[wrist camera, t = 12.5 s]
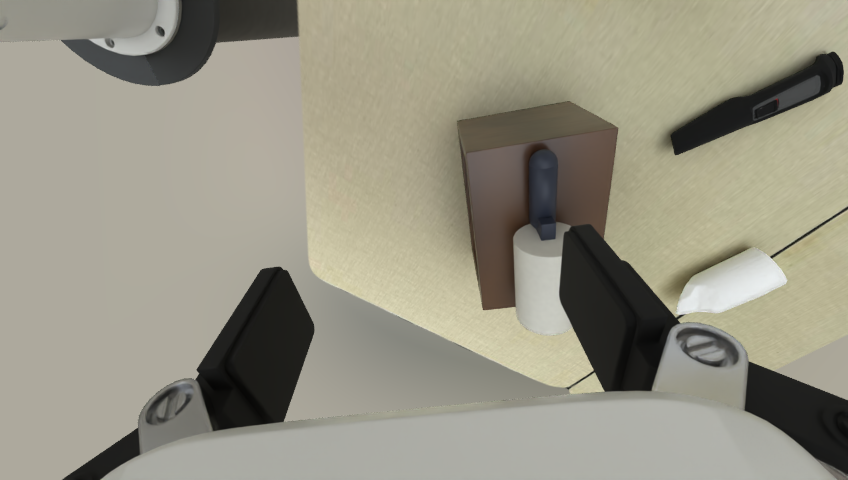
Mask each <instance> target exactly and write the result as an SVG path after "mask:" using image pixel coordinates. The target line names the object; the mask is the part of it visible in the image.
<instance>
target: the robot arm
mask: <svg viewBox="0 0 848 480" xmlns="http://www.w3.org/2000/svg"><path fill="white" fill-rule="evenodd" d="M181 13H182V1H181V0H0V42H17V41H46V40H75V39H89V40H90V41H92V42H93V43H95V44H97V45H99V46H101V47H103V48H105V49H107V50H110V51H113V52H116V53H119V54H123V55H132V56H138V55H148V54H152V53H156V52H158V51H160V50H162V49H164V48H165V47H166V46H167V45H168V44H169V43H170V42H171V41H172V40H173V39H174V37H175V35H176V33H177V32H178V29H179V25H180V22H181ZM164 31H165V32H164ZM559 298H560V302H561V305H562V307H563V309H564V311H565V313H566V315H567V317H568V319H569V321H570V323H571V325H572V327H573V329H574V331H575V333H576V335H577V337H578V339H579V341H580V343H581V345H582V347H583V349H584V351H585V353H586V355H587V357H588V359H589V361H590V363H591V365H592V367H593V369H594V371H595V373H596V375H597V377H598V379H599V381H600V383H601V385H602V387H603V389H604V391H605V392H596V393H582V394H569V395H556V396H545V397H533V398H522V399H512V400H501V401H491V402H479V403H469V404H458V405H449V406H437V407H427V408H418V409H408V410H397V411H387V412H376V413H366V414H357V415H347V416H337V417H328V418H318V419H308V420H299V421H289V422H284V419H285V416H286V413H287V410H288V407H289V404H290V402H291V399H292V396H293V393H294V390H295V387H296V384H297V381H298V378H299V375H300V372H301V370H302V367H303V364H304V361H305V358H306V355H307V352H308V349H309V346H310V343H311V341H312V338H313V335H314V324H313V321H312V319H311V317H310V315H309V313H308V311H307V309H306V308H305V305H304V303H303V301H302V299H301V297H300V295H299V293H298V291H297V289H296V287H295V285H294V283H293V281H292V279H291V277H290V275H289V273H288V271H287V270H283V269H282V268H281V267H273V268H266V269H262V270H261V271H260V272H259V274H258V275H257V277H256V279H255V280H254V282H253V283H252V285H251V286H250V288H249V289H248V291H247V292H246V294H245V295H244V297H243V299H242V300H241V302H240V303H239V305H238V306H237V308H236V309H235V311H234V312H233V314H232V316H231V317H230V319H229V320H228V322H227V323H226V325H225V326H224V328H223V330H222V331H221V333H220V334H219V336H218V337H217V339H216V340H215V342H214V344H213V345H212V347H211V348H210V350H209V351H208V353H207V354H206V356H205V358H204V359H203V361H202V362H201V364H200V365H199V367H198V368H197V371H198V372H199V375H198V377H197V378H196V380H194V379H192V378H189V379H182V380H178V381H175V382H173V383H171V384H169V385H167V386H166V387H164V388H163V389H161V390H160V391H158V392H157V393H156V394H155V395H154V396H153V397H152V398H151V399H150V400H149V401H148V402H147V403H146V405H145V406H144V408H143V409H142V411H141V413H140V415H139V420H138V428H137V429H135V430H134V431H133V432H131V433H130V434H128V435H127V436H125V437H124V438H122V439H121V440H120V441H118V442H116V443H115V444H114V445H112V446H111V447H109V448H108V449H106V450H105V451H103V452H102V453H100V454H99V455H97V456H96V457H94V458H93V459H92V460H90V461H89V462H87V463H86V464H84V465H83V466H81V467H80V468H78V469H77V470H76V471H74V472H72V473H71V474H70V475H68V476H67V477H65V478H64V479H63V480H848V400H845V399H843V398H840V397H838V396H835V395H833V394H830V393H828V392H825V391H823V390H820V389H817V388H815V387H812V386H810V385H807V384H805V383H802V382H800V381H797V380H795V379H792V378H790V377H787V376H784V375H782V374H779V373H777V372H774V371H772V370H769V369H767V368H764V367H762V366H759V365H757V364H754V363H751V362H749V360H748V355H747V352H746V350H745V349H744V347H743V346H742V344H741V343H740V342H738V341H737V340H736V339H735V338H734V337H733V336H731V335H729V334H728V333H726V332H724V331H723V330H721V329H718V328H716V327H713V326H711V325H707V324H702V323H695V322H686V323H680V322H679V321H678V320H677V319H676V318H675V316H674V315H673V314H672V313H671V312H670V311H669V309H668V308H667V307H666V306H665V305H664V304H663V302H662V301H661V300H660V299H659V298H658V297H657V295H656V294H655V293H654V292H653V291H652V290H651V289H650V287H649V286H648V285H647V284H646V283H645V282H644V280H643V279H642V278H641V277H640V276H639V275H638V273H637V272H636V271H635V270H634V269H633V268H632V266H631V265H630V264H629V263H627V262H626V261H623V260H622V261H621V259H620V258H619V257H618V256H617V255H616V253H615V252H614V251H613V250H612V249H611V248H610V246H609V245H608V244H607V243H606V242H605V240H604V239H603V238H602V237H601V236H600V234H599V233H598V232H597V231H596V230H595V229H594V227H593V226H592V225H591V224H584V225H576V226H571V227H570V229H569V231H565V232H564V236H563V248H562V260H561V273H560V286H559Z"/></svg>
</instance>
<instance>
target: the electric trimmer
mask: <svg viewBox="0 0 848 480" xmlns="http://www.w3.org/2000/svg"><path fill="white" fill-rule="evenodd" d="M843 75H844V70H843V64H842V61H841V60H840V58H839V56H838V55H837V54H836V53H835V52H831V53H829V54H827V55H826V54H820V55H819V56H817V57H816V62H815V63H814V64H813V65H812V66H810V67H808V68H806V69H804V70H802V71H800V72H798V73H796V74H794V75H791V76H789V77H787V78H785V79H783V80H781V81H779V82H777V83H775V84H773V85H771V86H769V87H767V88H765V89H763V90H760V91H758V92H756V93H754V94H752V95H749V96H744V97H736V98H731V99H729V100H727V101H725V102H724V103H722V104H720V105H718V106H717V107H715V108H713V109H712V110H710V111H708V112H707V113H705V114H703V115H702V116H700V117H698V118H697V119H695V120H693V121H692V122H690V123H688V124H687V125H685V126H683V127H682V128H680V129H678V130H677V131H675V132H674V133H672V134H671V139H672V144H673V149H674V154H675V155H679V154H681V153H683V152H686V151H688V150H691V149H693V148H695V147H698V146H700V145H703V144H705V143H707V142H710V141H712V140H715V139H717V138H719V137H722V136H724V135H727V134H729V133H732V132H734V131H736V130H739V129H741V128H744V127H746V126H749V125H752V124H755V123H758V122H760V121H763V120H766V119H768V118H770V117H773V116H775V115H778V114H780V113H783V112H785V111H787V110H790V109H792V108H795V107H797V106H800V105H802V104H804V103H807V102H809V101H812V100H814V99H816V98H818V97H820V96H822V95H824V94H826V93H828V92H830V91H831V89H832V88H833V87H836V86H838V85H841V84H842V82H843Z"/></svg>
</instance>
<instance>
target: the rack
mask: <svg viewBox="0 0 848 480" xmlns="http://www.w3.org/2000/svg"><path fill="white" fill-rule="evenodd" d="M457 126H458V134H459V142H460V151H461V159H462V168H463V176H464V185H465V193H466V202H467V210H468V218H469V227H470V235H471V244H472V252H473V258H474V264H475V269H476V275H477V280H478V286H479V291H480V297H481V302H482V308H483V310H491V309H500V308H509V307H516V301H515V274H514V248H513V237H514V235H515V233H516V232H517V231H518V230H519V229H520V228H521V227H523V226H525V225H528V224H531V223H530V220H529V161H530V158H531V156H532V155H533V154H534V153H535V152H536V151H539V150H542V149H547V150H551V151H552V152H554V153H555V154H556V156H557V158H558V179H557V203H556V220H555V222H560V223H564V224H567V225H570V226H576V225H584V224H591V225H592V226H593V227H594V229H595V230H596V231H597V232H598V233H599V234H600V236H601V237H602V238H603V239H604V232H605V225H606V217H607V210H608V202H609V195H610V187H611V180H612V172H613V165H614V157H615V150H616V142H617V135H618V127H616V126H614V125H613V124H611V123H609V122H607V121H605V120H604V119H602V118H600V117H598V116H596V115H594V114H592V113H591V112H589V111H587V110H585V109H583V108H581V107H579V106H578V105H576V104H574V103H572V102H570V101H568V102H562V103H556V104H551V105H545V106H539V107H534V108H528V109H522V110H516V111H511V112H505V113H499V114H494V115H488V116H482V117H477V118H471V119H465V120H459V121H457Z"/></svg>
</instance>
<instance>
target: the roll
mask: <svg viewBox="0 0 848 480" xmlns="http://www.w3.org/2000/svg"><path fill="white" fill-rule="evenodd" d="M786 282H787V279H786V277H785V275H784V273H783V271H782V270H781V269H780V267H779V266H778V265H777V264H776V263H775V262H774V261H773V259H771V258H770V257H769V256H768V255H767V254H766V253H764V252H763V251H761V250H760V249H758V248H755V247H752V248H750V249H748V250H746V251H744V252H742V253H740V254H738V255H735V256H733V257H731V258H729V259H727V260H725V261H723V262H721V263H719V264H717V265H714V266H712V267H710V268H708V269H706V270H704V271H702V272H700V273H698V274H696V275H694V276H692V277H691V279H690V280H689V282H688V283H687V284H686V285H685V287H684V289H683V291H682V294H681V295H680V298H679V300H678V301H679V302H678V305H677V311H676V312H675V313H677V314H680V315H682V314H687V313H692V312H710V313H721V312H723V311H726V310H728V309H731V308H733V307H736V306H738V305H740V304H743V303H745V302H748V301H751V300H753V299H756V298H758V297H760V296H763V295H765V294H767V293H768V292H770V291H772V290H774V289H776V288H778V287H780V286H783V285H785V284H786Z"/></svg>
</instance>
